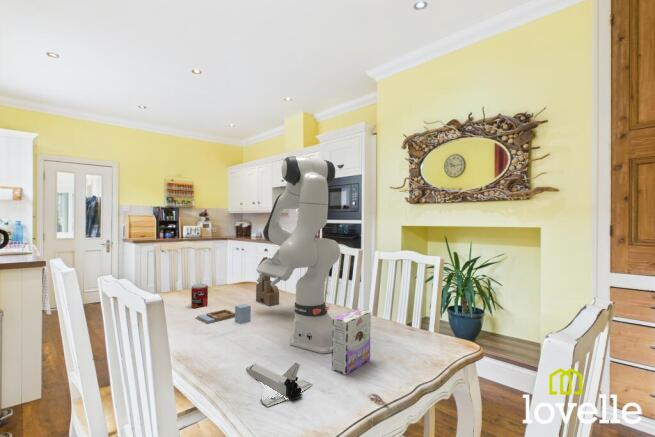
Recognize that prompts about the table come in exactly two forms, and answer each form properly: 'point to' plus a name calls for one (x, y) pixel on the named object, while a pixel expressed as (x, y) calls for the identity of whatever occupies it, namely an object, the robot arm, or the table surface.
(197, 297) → the canned food
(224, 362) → the table surface
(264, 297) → the wooden toy
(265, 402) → the space shuttle model
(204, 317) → the plate
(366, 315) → the candy box
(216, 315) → the tray
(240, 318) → the block
